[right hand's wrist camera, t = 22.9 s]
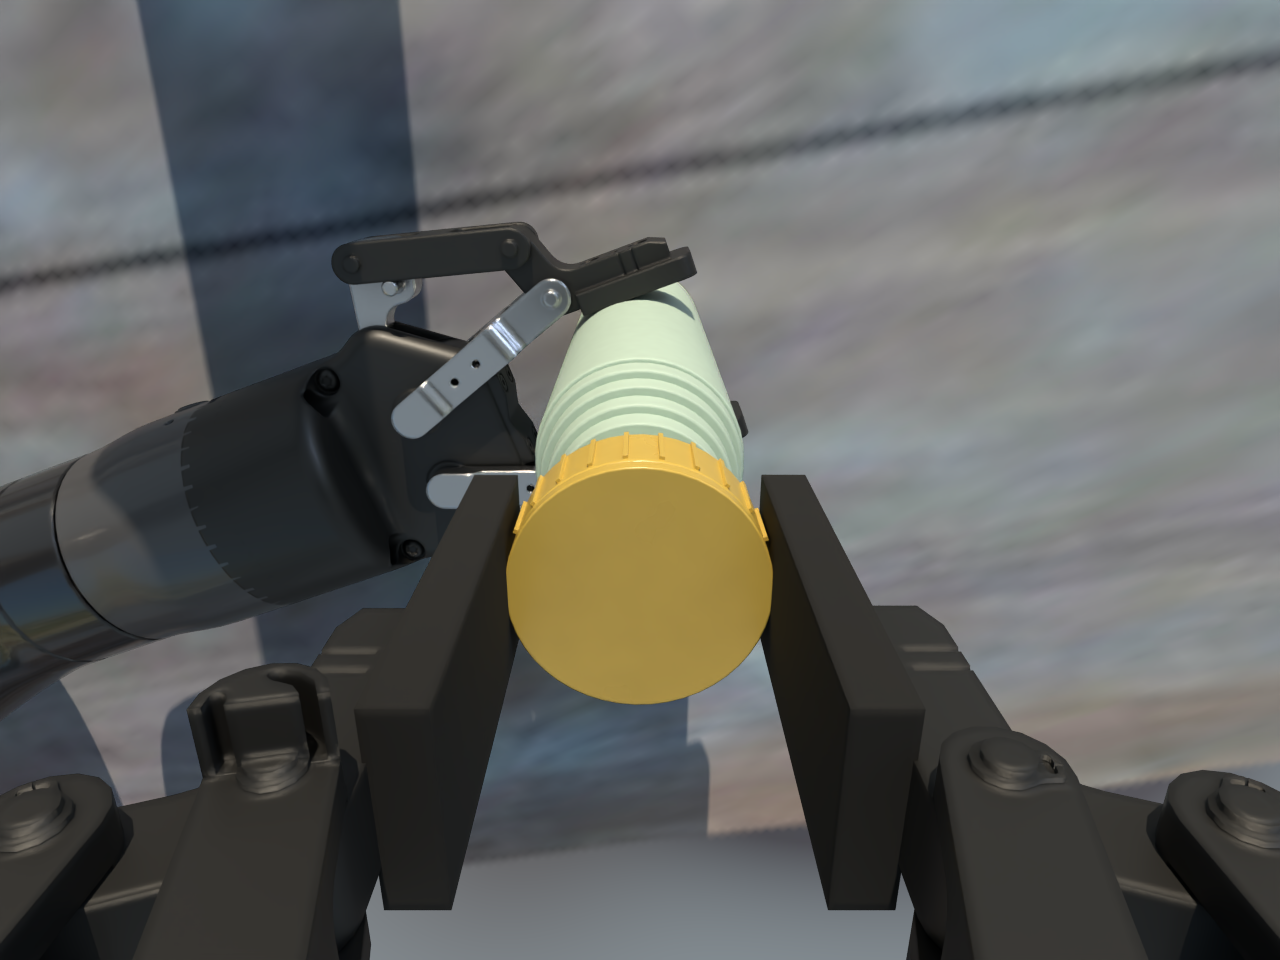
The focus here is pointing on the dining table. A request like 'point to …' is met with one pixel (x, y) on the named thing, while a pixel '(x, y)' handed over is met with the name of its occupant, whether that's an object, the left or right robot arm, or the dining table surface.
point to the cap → (639, 570)
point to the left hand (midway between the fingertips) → (715, 340)
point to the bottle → (640, 382)
